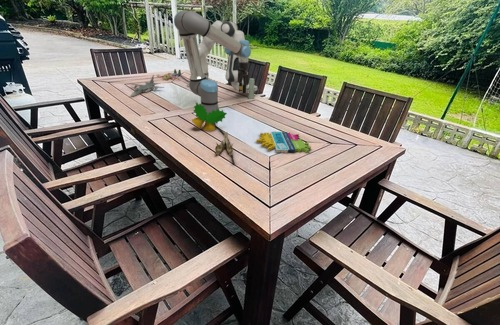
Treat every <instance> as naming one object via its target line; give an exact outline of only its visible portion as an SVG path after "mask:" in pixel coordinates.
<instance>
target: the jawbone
mask: <svg viewBox="0 0 500 325" xmlns="http://www.w3.org/2000/svg"><path fill="white" fill-rule="evenodd" d="M228 135H229V133H228V131H226V132H224V135H223V140H222V139H221V142H220V144H218V142H215V144H216V146H215V148H214V149H215V152H214V154H215V155H217V156H218V155H220V153H221V152H223V151H224V150H226V152H227V153H228V155H229V156H231V155H233V156H234V154H233V153H234V148H233V144H234V143H230V144H229V142H230V140H229V138H228V137H229V136H228ZM228 140H229V141H228Z"/></svg>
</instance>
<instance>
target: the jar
mask: <svg viewBox="0 0 500 325" xmlns="http://www.w3.org/2000/svg"><path fill="white" fill-rule="evenodd" d="M248 83H249V90H250V92H247V98H248V99H249V100H253V99H254V97H255V92H254V85H255V83H256V82H255V78H251V77H250V78H249V80H248Z"/></svg>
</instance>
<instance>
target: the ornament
mask: <svg viewBox="0 0 500 325" xmlns="http://www.w3.org/2000/svg"><path fill="white" fill-rule="evenodd" d="M219 110H220V108H219V109H217V110H216V111H214V110H212V112H211V113H208V112H206V109H204V106H201V103H198V102H195V105H194V106H193V112H194V113H195V118H192V119H191V122H192V123H193V125H195V127H197V128H198V129H202V130H203V131H206V132H212V131H213V132H214V131H215V130H216V127H215V125H214V123H215V124H218V123H219V122H223V119H226V115H227V114H228V113H227V112H224V110H223V109H221V110H220V111H219ZM207 113H208V115H207Z"/></svg>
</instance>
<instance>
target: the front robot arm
mask: <svg viewBox="0 0 500 325" xmlns="http://www.w3.org/2000/svg"><path fill="white" fill-rule="evenodd" d="M173 24H174V27H175V28H176V29H177V31H178V35H179V37H180V38H181V39H182V42H183V46H184V50H185V54H186V60H187V64H188V67H189V68H188V69H189V72H190V76H189V81H190V82H189V81H188V84H189V86H188V88H189V90H190V91H191V92H192V93H193V94H195V95H196V96H199V97H200V104H201V106H204V109H206V112H208V113H211V112H212V110H214V111H216V110H217V109H219V111H221V110H220V108H219V102H218V99H219V98H218V97H219V87H218V82H216V80H213V79H209V78H208V79H206V75H205V74H204V73H203V70H202V65H201V60H200V55H199V50H198V40H197V36H198V35H199V36H201V37H202V38H204V37H205V36H206V37H208V38H209V39H211V40H213V41H215V42H216V43H217V44H219V45H220V46H222V47H224V52H225V54H226V55H228V56H229V55H237V56H239V57H238V68H237V70H238V82H239V86H242V83H243V84H244V85H243V93H242V94H246V93H247V92H246V85H248V83H249V75H250V72H249V71H248V68H249V57H250V56H251V54H252V50H251V47H250V41H249V40H248V39H245V40H240V41H239V42H238V41H236V40H235V39H233V38H232V37H230V36H229V35H227V34H225V33H224V32H222V31H221V30H219V29H217V28H216V27H214V26H213V25H212V23H211V21H210V20H208V19H207V18H205V17H204V16H202V15H200V14H199V13H197V12H195V11H193V10H180V11H177V12H176V13H175V15H174V17H173ZM216 43H215V44H216ZM242 79H243V82H242ZM240 91H242V90H240V89H239V92H240ZM239 92H238V93H239ZM208 113H207V115H208ZM213 124H214V126H215V129H217V130H219V131H220V132H221V134H222V135H223V136H224V133H225V132H224V131H223V130H222V129H221V128H219V127H218V126H217V125H216V124H217V123H213ZM228 141H229V144H230V145H231V142H230V139H228ZM230 158H231V162H232V164H233V165H235V159H234V154H233V155H230Z"/></svg>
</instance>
